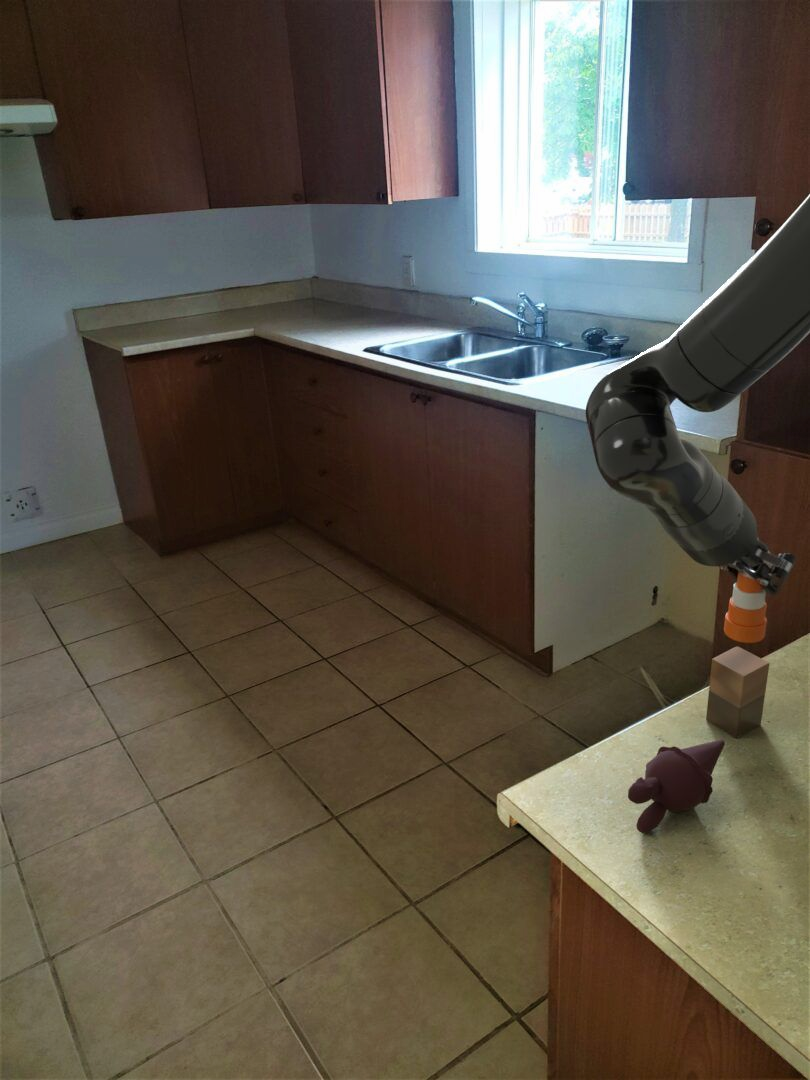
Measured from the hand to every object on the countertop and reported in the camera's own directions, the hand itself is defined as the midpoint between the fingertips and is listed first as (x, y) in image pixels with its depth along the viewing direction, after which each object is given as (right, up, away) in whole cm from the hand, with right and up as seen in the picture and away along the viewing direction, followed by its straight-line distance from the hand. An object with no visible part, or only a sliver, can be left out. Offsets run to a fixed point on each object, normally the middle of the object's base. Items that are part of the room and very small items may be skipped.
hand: (760, 581), depth 92 cm
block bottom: (0, -18, +7) cm, 19 cm away
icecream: (-11, -24, -4) cm, 26 cm away
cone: (-1, -6, +1) cm, 6 cm away
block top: (-1, -14, +5) cm, 15 cm away
